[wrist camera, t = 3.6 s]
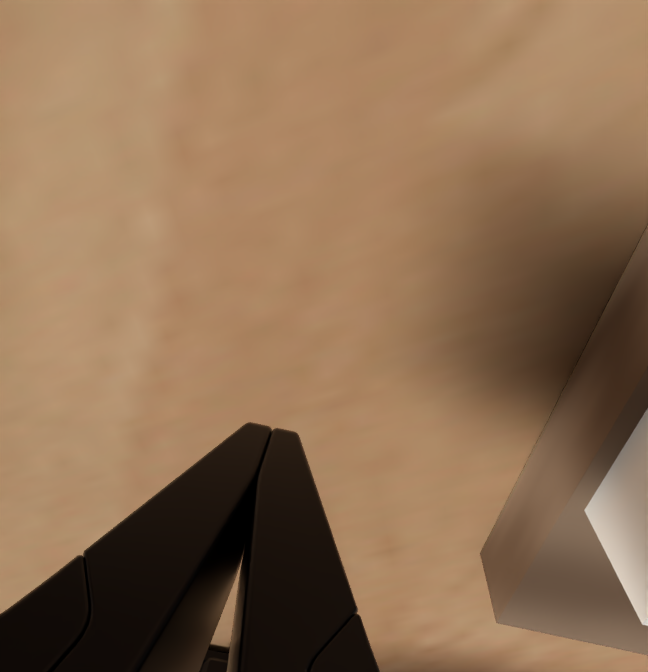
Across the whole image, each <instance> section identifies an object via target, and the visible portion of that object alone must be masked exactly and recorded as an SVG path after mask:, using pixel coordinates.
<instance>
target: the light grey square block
mask: <svg viewBox="0 0 648 672" xmlns="http://www.w3.org/2000/svg"><path fill="white" fill-rule="evenodd" d="M584 511H585V513H586V515H587V517H588V519H589V521H590V523H591V525H592V527H593V529H594V531H595V533H596V534H597V536H598V538H599V540H600V542H601V544H602V546H603V548H604V550H605V552H606V554H607V556H608V558H609V560H610V562H611V564H612V566H613V568H614V570H615V572H616V574H617V576H618V578H619V580H620V582H621V584H622V586H623V588H624V590H625V592H626V594H627V596H628V598H629V600H630V602H631V603H632V605H633V607H634V609H635V611H636V613H637V615H638V617H639V619H640V621H641V623H642V625H647V626H648V408H647V410H646V412H645V413H644V415H643V416H642V418H641V420H640V421H639V423H638V425H637V426H636V428H635V429H634V431H633V433H632V434H631V436H630V437H629V439H628V441H627V442H626V444H625V446H624V447H623V449H622V450H621V452H620V454H619V455H618V457H617V458H616V460H615V462H614V463H613V465H612V466H611V468H610V470H609V471H608V473H607V475H606V476H605V478H604V479H603V481H602V483H601V484H600V486H599V487H598V489H597V491H596V492H595V494H594V496H593V497H592V499H591V500H590V502H589V504H588V505H587V507H586V508H585V510H584Z"/></svg>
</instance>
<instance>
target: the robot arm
mask: <svg viewBox="0 0 648 672" xmlns="http://www.w3.org/2000/svg"><path fill="white" fill-rule="evenodd" d="M242 557H243V559H242ZM241 560H242V565H241V571H240V577H239V583H238V591H237V598H236V606H235V613H234V621H233V628H232V636H231V643H230V651H229V654H226V653H221V652H216V651H211V650H208V648H209V645H210V643H211V640H212V637H213V635H214V632H215V630H216V627H217V625H218V622H219V619H220V617H221V614H222V612H223V609H224V607H225V604H226V601H227V599H228V596H229V594H230V591H231V589H232V586H233V584H234V581H235V578H236V575H237V573H238V570H239V567H240V564H241ZM357 612H358V609H357V606H356V603H355V600H354V597H353V594H352V591H351V588H350V585H349V582H348V579H347V576H346V573H345V570H344V567H343V564H342V561H341V558H340V556H339V553H338V550H337V547H336V544H335V541H334V538H333V535H332V532H331V529H330V526H329V523H328V520H327V517H326V514H325V511H324V508H323V505H322V502H321V499H320V496H319V493H318V491H317V488H316V485H315V482H314V479H313V476H312V473H311V470H310V467H309V464H308V461H307V458H306V455H305V452H304V449H303V446H302V443H301V440H300V437H299V435H298V434H297V433H296V432H293V431H289V430H284V429H279V428H275V429H274V430H273V431H272V429H271V428H270V427H269V426H265V425H261V424H256V423H252V422H249V423H246V424H245V425H243V426H242V427H241V428H240V429H238V430H237V431H236V432H234V433H233V434H232V435H231V436H229V437H228V438H227V439H226V440H224V441H223V442H222V443H221V444H219V445H218V446H217V447H215V448H214V449H213V450H212V451H210V452H209V453H208V454H207V455H205V456H204V457H203V458H202V459H200V460H199V461H198V462H196V463H195V464H194V465H193V466H191V467H190V468H189V469H188V470H186V471H185V472H184V473H182V474H181V475H180V476H179V477H177V478H176V479H175V480H174V481H172V482H171V483H170V484H169V485H167V486H166V487H165V488H163V489H162V490H161V491H160V492H158V493H157V494H156V495H155V496H153V497H152V498H151V499H150V500H148V501H147V502H146V503H144V504H143V505H142V506H141V507H139V508H138V509H137V510H136V511H134V512H133V513H132V514H130V515H129V516H128V517H127V518H125V519H124V520H123V521H122V522H120V523H119V524H118V525H117V526H115V527H114V528H113V529H111V530H110V531H109V532H108V533H106V534H105V535H104V536H103V537H101V538H100V539H99V540H98V541H96V542H95V543H94V544H92V545H91V546H90V547H89V548H87V549H86V550H85V551H84V553H83V556H82V555H78V556H77V557H75V558H74V559H73V560H72V561H70V562H69V563H68V564H67V565H65V566H64V567H63V568H62V569H60V570H59V571H58V572H56V573H55V574H54V575H53V576H51V577H50V578H49V579H47V580H46V581H45V582H43V583H42V584H41V585H39V586H38V587H37V588H35V589H34V590H33V591H31V592H30V593H29V594H27V595H26V596H25V597H23V598H22V599H21V600H19V601H18V602H17V603H15V604H14V605H13V606H11V607H10V608H9V609H7V610H6V611H4V612H3V613H1V614H0V672H380V670H379V668H378V665H377V662H376V659H375V657H374V654H373V651H372V649H371V646H370V643H369V640H368V637H367V634H366V631H365V629H364V626H363V623H362V620H361V617H360V615H358V614H357Z"/></svg>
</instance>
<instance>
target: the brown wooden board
mask: <svg viewBox="0 0 648 672" xmlns="http://www.w3.org/2000/svg"><path fill="white" fill-rule="evenodd" d="M647 408H648V225H647V227H646V229H645V231H644V233H643V235H642V237H641V239H640V241H639V243H638V245H637V247H636V249H635V251H634V253H633V255H632V257H631V258H630V260H629V262H628V264H627V266H626V268H625V270H624V272H623V274H622V276H621V278H620V280H619V282H618V284H617V286H616V288H615V290H614V292H613V294H612V296H611V298H610V300H609V302H608V304H607V306H606V308H605V309H604V311H603V313H602V315H601V317H600V319H599V321H598V323H597V325H596V327H595V329H594V331H593V333H592V335H591V337H590V339H589V341H588V343H587V345H586V347H585V349H584V351H583V353H582V355H581V357H580V359H579V360H578V362H577V364H576V366H575V368H574V370H573V372H572V374H571V376H570V378H569V380H568V382H567V384H566V386H565V388H564V390H563V392H562V394H561V396H560V398H559V400H558V402H557V404H556V406H555V408H554V410H553V411H552V413H551V415H550V417H549V419H548V421H547V423H546V425H545V427H544V429H543V431H542V433H541V435H540V437H539V439H538V441H537V443H536V445H535V447H534V449H533V451H532V453H531V455H530V457H529V459H528V461H527V462H526V464H525V466H524V468H523V470H522V472H521V474H520V476H519V478H518V480H517V482H516V484H515V486H514V488H513V490H512V492H511V494H510V496H509V498H508V500H507V502H506V504H505V506H504V508H503V510H502V512H501V513H500V515H499V517H498V519H497V521H496V523H495V525H494V527H493V529H492V531H491V533H490V535H489V537H488V539H487V541H486V543H485V545H484V547H483V549H482V551H481V553H480V555H481V559H482V563H483V568H484V572H485V576H486V581H487V585H488V589H489V594H490V598H491V602H492V606H493V611H494V615H495V619H496V623H499V624H503V625H508V626H513V627H517V628H522V629H527V630H531V631H536V632H541V633H545V634H550V635H555V636H559V637H564V638H569V639H573V640H578V641H583V642H588V643H592V644H597V645H602V646H606V647H611V648H616V649H620V650H625V651H630V652H634V653H639V654H644V655H648V626H647V625H642V623H641V621H640V619H639V617H638V615H637V613H636V611H635V609H634V607H633V605H632V603H631V602H630V600H629V598H628V596H627V594H626V592H625V590H624V588H623V586H622V584H621V582H620V580H619V578H618V576H617V574H616V572H615V570H614V568H613V566H612V564H611V562H610V560H609V558H608V556H607V554H606V552H605V550H604V548H603V546H602V544H601V542H600V540H599V538H598V536H597V534H596V533H595V531H594V529H593V527H592V525H591V523H590V521H589V519H588V517H587V515H586V513H585V511H584V510H585V508H586V507H587V505H588V504H589V502H590V500H591V499H592V497H593V496H594V494H595V492H596V491H597V489H598V487H599V486H600V484H601V483H602V481H603V479H604V478H605V476H606V475H607V473H608V471H609V470H610V468H611V466H612V465H613V463H614V462H615V460H616V458H617V457H618V455H619V454H620V452H621V450H622V449H623V447H624V446H625V444H626V442H627V441H628V439H629V437H630V436H631V434H632V433H633V431H634V429H635V428H636V426H637V425H638V423H639V421H640V420H641V418H642V416H643V415H644V413H645V412H646V410H647Z"/></svg>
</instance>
